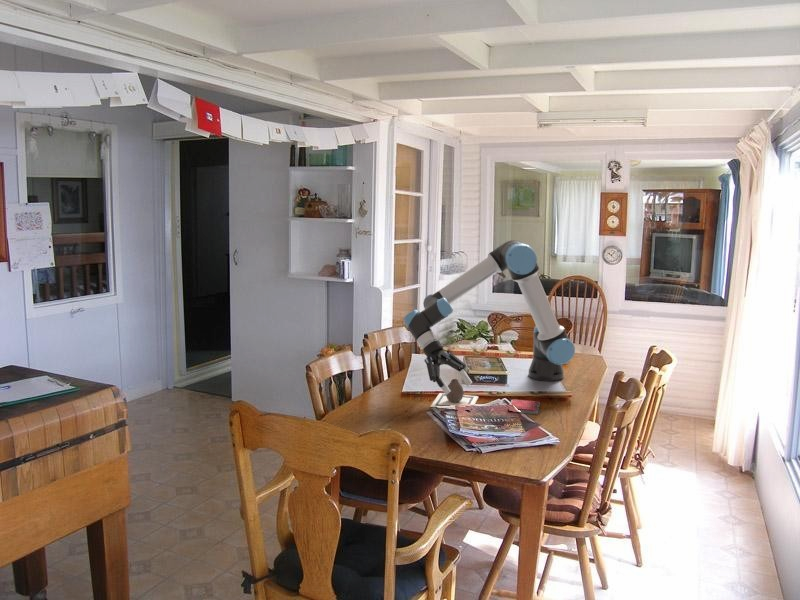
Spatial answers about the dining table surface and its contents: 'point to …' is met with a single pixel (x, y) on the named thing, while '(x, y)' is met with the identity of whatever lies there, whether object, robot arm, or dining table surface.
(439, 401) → the marked card
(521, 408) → the ink pad
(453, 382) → the brown egg
